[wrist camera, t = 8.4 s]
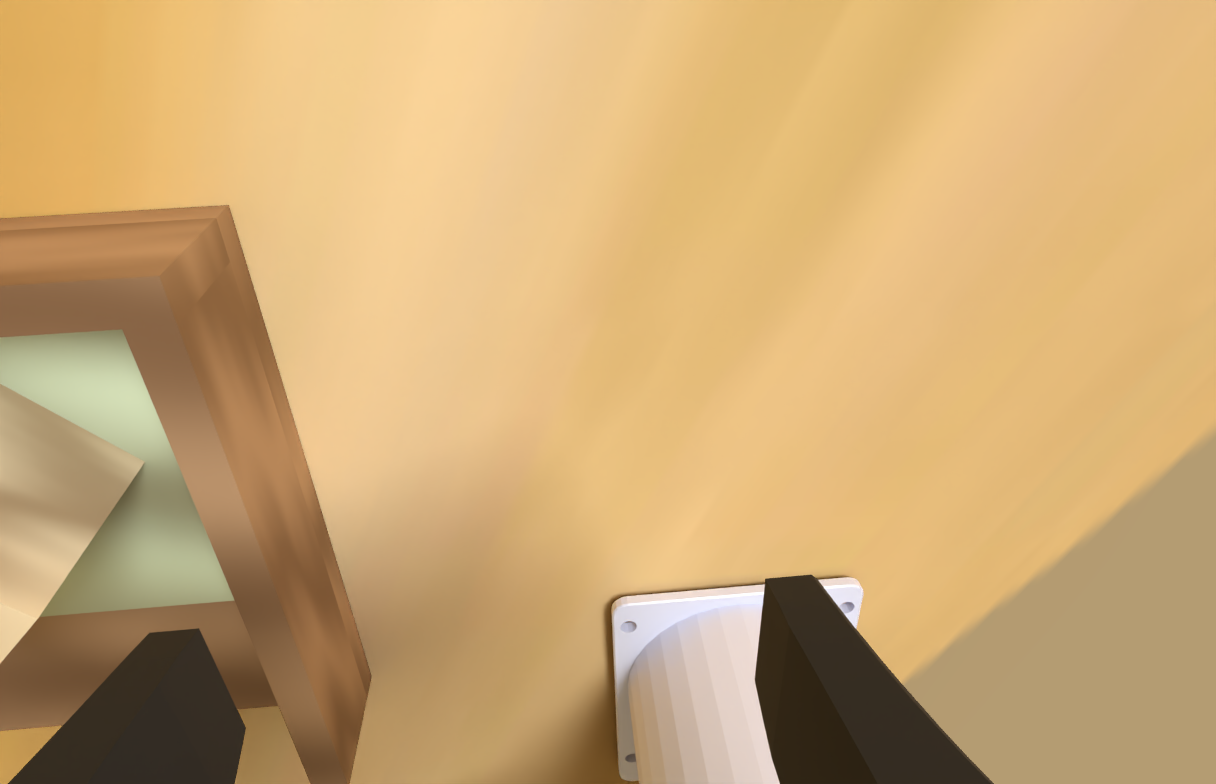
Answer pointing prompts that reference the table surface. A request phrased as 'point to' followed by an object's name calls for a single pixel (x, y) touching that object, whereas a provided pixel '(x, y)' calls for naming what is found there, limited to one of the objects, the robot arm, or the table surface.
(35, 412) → the block
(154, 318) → the arena
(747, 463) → the table surface
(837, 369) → the table surface
